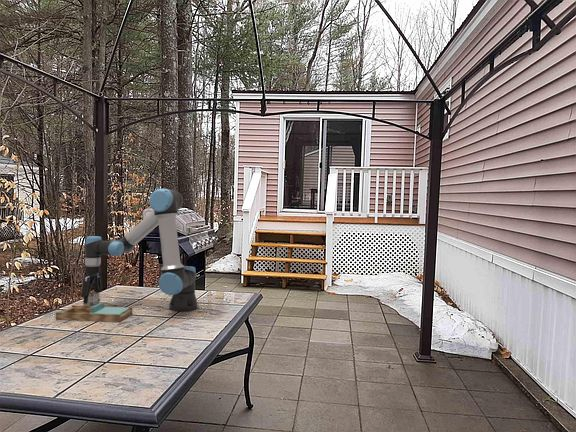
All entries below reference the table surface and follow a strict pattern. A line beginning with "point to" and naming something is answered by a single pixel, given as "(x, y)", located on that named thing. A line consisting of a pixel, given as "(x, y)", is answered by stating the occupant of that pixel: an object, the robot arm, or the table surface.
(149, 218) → the robot arm
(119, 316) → the board
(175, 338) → the table surface
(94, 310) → the cover
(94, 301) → the game die
